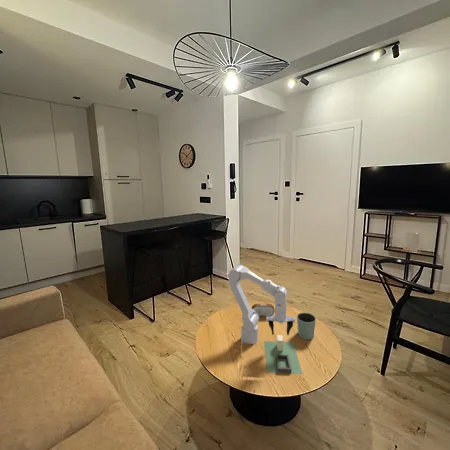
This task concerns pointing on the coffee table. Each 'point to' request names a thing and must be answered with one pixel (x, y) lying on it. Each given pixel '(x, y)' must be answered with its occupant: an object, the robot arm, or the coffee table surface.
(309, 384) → the coffee table surface
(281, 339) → the cream rectangular block
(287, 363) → the board
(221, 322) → the coffee table surface
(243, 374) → the coffee table surface
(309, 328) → the grey-green cup
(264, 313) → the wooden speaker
